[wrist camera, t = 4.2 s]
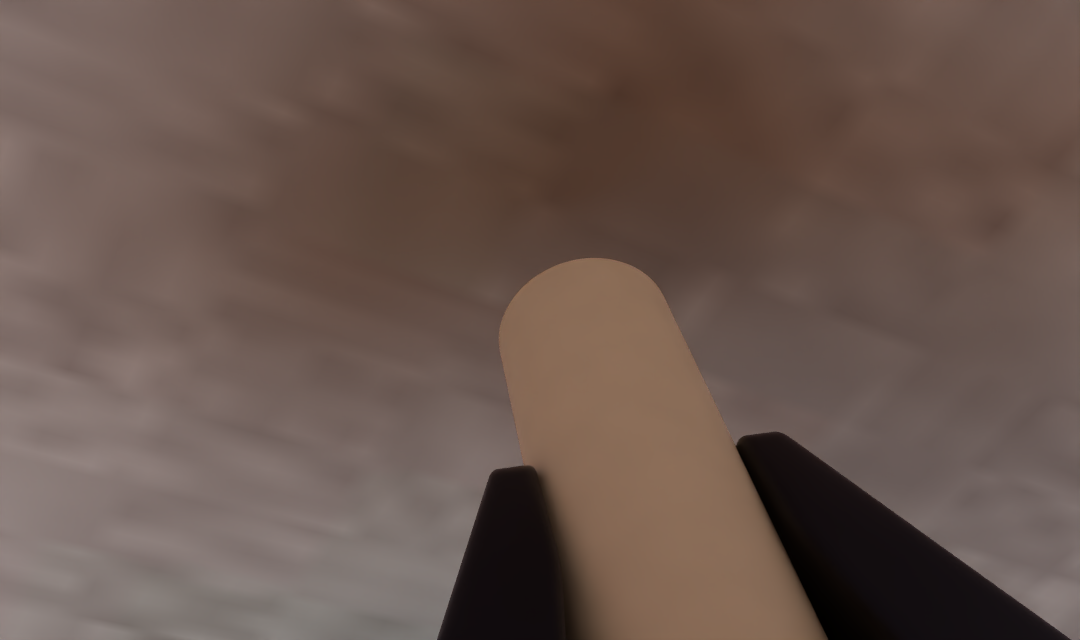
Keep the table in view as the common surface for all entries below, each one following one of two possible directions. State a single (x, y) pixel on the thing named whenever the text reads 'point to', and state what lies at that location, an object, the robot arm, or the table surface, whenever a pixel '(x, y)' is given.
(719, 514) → the marker
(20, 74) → the table surface
